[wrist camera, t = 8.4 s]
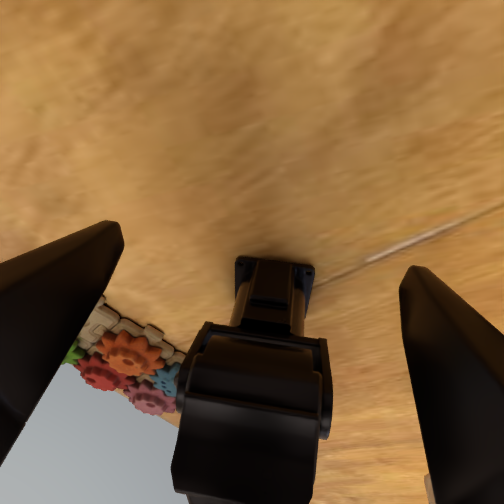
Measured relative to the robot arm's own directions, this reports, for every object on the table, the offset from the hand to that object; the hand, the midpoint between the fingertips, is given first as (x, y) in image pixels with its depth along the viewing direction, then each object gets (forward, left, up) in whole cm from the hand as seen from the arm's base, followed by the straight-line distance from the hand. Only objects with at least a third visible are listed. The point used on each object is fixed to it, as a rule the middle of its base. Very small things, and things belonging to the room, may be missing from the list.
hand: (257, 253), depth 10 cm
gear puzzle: (-26, +21, -12) cm, 35 cm away
